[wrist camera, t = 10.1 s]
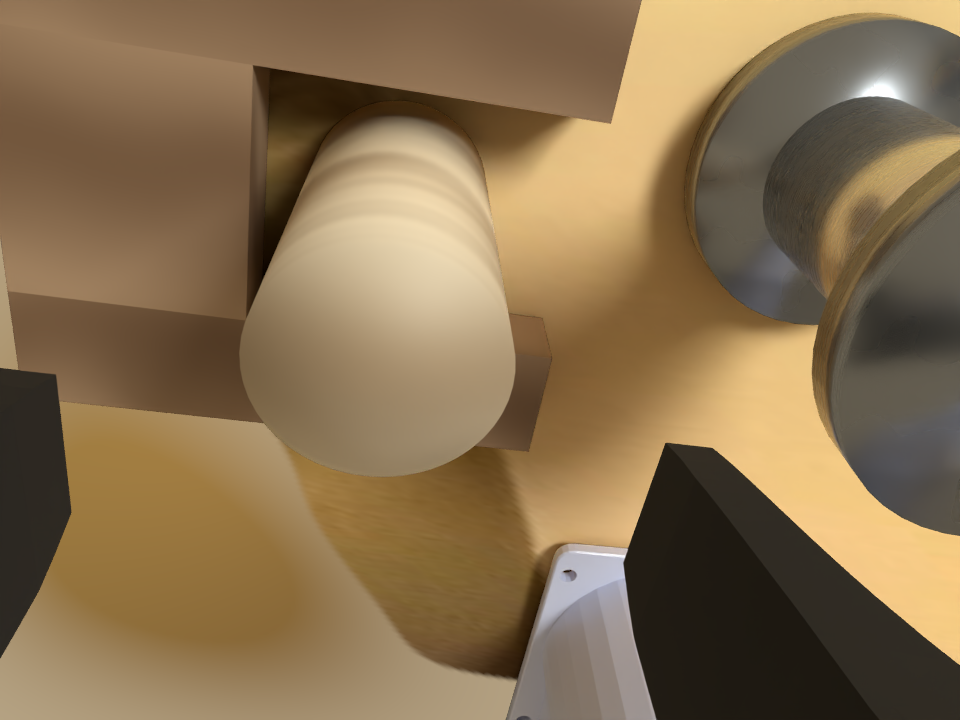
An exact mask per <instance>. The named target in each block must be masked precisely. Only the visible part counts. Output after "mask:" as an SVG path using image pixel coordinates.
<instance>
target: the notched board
mask: <svg viewBox="0 0 960 720" xmlns="http://www.w3.org/2000/svg"><path fill="white" fill-rule="evenodd" d="M641 1H642V0H0V239H1V245H2V253H3V260H4V268H5V275H6V282H7V289H8V296H9V304H10V311H11V318H12V325H13V333H14V339H15V346H16V354H17V361H18V369H19V370H21V371H30V372H39V373H48V374H56V378H57V387H58V396H59V401H63V402H73V403H82V404H91V405H101V406H110V407H119V408H129V409H137V410H147V411H156V412H165V413H174V414H185V415H193V416H202V417H212V418H222V419H231V420H239V421H249V422H258V423H264V422H263V421H262V419H261V418H260V417H259V415H258V414H257V412H256V411H255V409H254V407H253V405H252V403H251V402H250V400H249V398H248V395H247V392H246V390H245V387H244V384H243V380H242V375H241V370H240V356H239V351H240V342H241V335H242V331H243V328H244V324H245V321H246V318H247V316H248V314H249V311H250V309H251V307H252V304H253V302H254V300H255V297H256V295H257V293H258V290H259V288H260V286H261V283H262V277H263V251H264V224H265V197H266V171H267V144H268V117H269V91H270V68H274V69H280V70H286V71H292V72H298V73H304V74H310V75H317V76H323V77H329V78H335V79H341V80H347V81H353V82H359V83H365V84H372V85H378V86H384V87H390V88H396V89H402V90H408V91H414V92H421V93H427V94H433V95H439V96H445V97H451V98H457V99H463V100H469V101H476V102H482V103H488V104H494V105H500V106H506V107H512V108H518V109H524V110H531V111H537V112H543V113H549V114H555V115H561V116H567V117H573V118H580V119H586V120H592V121H598V122H604V123H610V124H611V121H612V117H613V113H614V109H615V105H616V101H617V97H618V93H619V89H620V85H621V81H622V77H623V73H624V69H625V65H626V61H627V57H628V53H629V49H630V45H631V41H632V37H633V33H634V29H635V25H636V21H637V17H638V13H639V9H640V5H641ZM509 320H510V326H511V331H512V337H513V343H514V350H515V377H514V383H513V388H512V391H511V394H510V398H509V401H508V403H507V405H506V407H505V409H504V411H503V413H502V415H501V416H500V418H499V419H498V421H497V422H496V424H495V425H494V427H493V428H492V429H491V430H490V431H489V432H488V433H487V435H486V436H485V437H484V438H483V439H482V440H481V441H479V442H478V443H477V444H476V445H475V446H481V447H490V448H499V449H508V450H518V451H527V452H529V448H530V444H531V440H532V436H533V432H534V428H535V424H536V420H537V416H538V412H539V408H540V404H541V400H542V396H543V392H544V388H545V384H546V381H547V377H548V373H549V369H550V365H551V361H552V356H551V352H550V348H549V344H548V340H547V336H546V332H545V328H544V324H543V320H542V318H537V317H529V316H521V315H513V314H509Z"/></svg>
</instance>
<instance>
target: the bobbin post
mask: <svg viewBox="0 0 960 720" xmlns="http://www.w3.org/2000/svg"><path fill="white" fill-rule="evenodd" d="M684 190H685V211H686V216H687V222H688V226H689V230H690V233H691V236H692V239H693V241H694V243H695V245H696V247H697V249H698V251H699V253H700V255H701V257H702V258H703V259H704V261H705V262H706V264H707V265H708V266H709V268H710V269H711V271H712V272H713V274H714V275H715V276H716V278H717V279H718V280H719V282H720V283H721V285H722V286H723V287H724V288H725V289H726V290H727V291H728V292H729V293H730V294H731V295H732V296H733V297H734V298H736V299H737V300H738V301H740V302H741V303H742V304H744V305H745V306H747V307H748V308H750V309H752V310H754V311H756V312H758V313H760V314H762V315H765V316H767V317H770V318H773V319H776V320H780V321H785V322H790V323H795V324H808V325H818V330H817V334H816V339H815V344H814V348H813V362H812V381H813V391H814V398H815V402H816V405H817V409H818V413H819V416H820V419H821V421H822V423H823V425H824V427H825V429H826V431H827V433H828V435H829V437H830V438H831V440H832V441H833V443H834V444H835V445H836V447H837V448H838V450H839V451H840V453H841V454H842V455H843V457H844V458H845V460H846V461H847V462H848V464H849V465H850V467H851V468H852V469H853V471H854V472H855V474H856V475H857V476H858V478H859V479H860V481H861V482H862V483H863V485H864V486H865V487H866V489H867V490H868V491H869V492H870V493H871V494H872V495H873V496H874V497H875V498H876V499H877V500H878V501H879V502H880V503H881V504H882V505H883V506H885V507H886V508H888V509H889V510H891V511H892V512H894V513H896V514H897V515H899V516H900V517H902V518H904V519H906V520H908V521H910V522H913V523H915V524H917V525H919V526H921V527H924V528H928V529H931V530H935V531H938V532H942V533H945V534H952V535H958V536H960V37H959V36H957V35H955V34H953V33H951V32H949V31H946V30H944V29H942V28H940V27H936V26H933V25H930V24H926V23H923V22H919V21H916V20H912V19H909V18H905V17H901V16H898V15H891V14H882V13H857V14H849V15H844V16H838V17H833V18H829V19H826V20H823V21H820V22H817V23H813V24H811V25H808V26H806V27H804V28H802V29H800V30H797V31H795V32H793V33H791V34H789V35H787V36H786V37H784V38H782V39H781V40H779V41H777V42H776V43H774V44H772V45H771V46H769V47H768V48H767V49H765V50H764V51H763V52H762V53H760V54H759V55H758V56H756V57H755V58H754V59H752V60H751V61H750V62H749V63H748V64H747V65H746V66H745V67H744V68H743V69H742V70H741V71H740V72H739V73H738V74H737V75H736V76H735V77H734V78H733V79H732V80H731V82H730V83H729V84H728V85H727V86H726V88H725V89H724V90H723V91H722V92H721V94H720V95H719V97H718V98H717V100H716V101H715V103H714V104H713V106H712V107H711V109H710V110H709V112H708V113H707V115H706V117H705V119H704V121H703V123H702V125H701V127H700V129H699V131H698V134H697V136H696V139H695V142H694V144H693V147H692V150H691V153H690V158H689V162H688V166H687V170H686V180H685V189H684Z"/></svg>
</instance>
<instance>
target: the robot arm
mask: <svg viewBox="0 0 960 720" xmlns="http://www.w3.org/2000/svg"><path fill="white" fill-rule="evenodd" d="M70 515H71V504H70V496H69V486H68V477H67V469H66V459H65V450H64V441H63V433H62V424H61V414H60V406H59V396H58V387H57V378H56V374H48V373H39V372H30V371H21V370H12V369H3V368H0V658H1V656H2V655H3V653H4V651H5V649H6V647H7V646H8V644H9V642H10V640H11V639H12V637H13V635H14V634H15V632H16V630H17V629H18V627H19V625H20V623H21V621H22V619H23V618H24V616H25V615H26V613H27V611H28V609H29V608H30V606H31V604H32V602H33V600H34V599H35V597H36V595H37V593H38V592H39V590H40V587H41V585H42V583H43V580H44V578H45V576H46V573H47V571H48V569H49V566H50V564H51V562H52V560H53V557H54V555H55V552H56V550H57V547H58V545H59V542H60V540H61V537H62V535H63V532H64V530H65V527H66V525H67V522H68V520H69V517H70ZM565 570H572V571H570V572H566V573H564V572H563V571H565ZM506 720H960V665H959V664H957V663H956V662H955V661H954V660H952V659H951V658H950V657H949V656H947V655H946V654H945V653H943V652H942V651H941V650H940V649H938V648H937V647H936V646H935V645H933V644H932V643H931V642H930V641H928V640H927V639H926V638H925V637H923V636H922V635H921V634H920V633H919V632H917V631H916V630H915V629H914V628H913V627H911V626H910V625H909V624H908V623H907V622H905V621H904V620H903V619H902V618H901V617H899V616H898V615H897V614H896V613H895V612H894V611H892V610H891V609H890V608H889V607H888V606H886V605H885V604H884V603H883V602H882V601H880V600H879V599H878V598H877V597H876V596H874V595H873V594H872V593H871V592H870V591H869V590H868V589H867V588H865V587H864V586H863V585H862V584H861V583H860V582H859V581H857V580H856V579H855V578H854V577H853V576H852V575H851V574H849V573H848V572H847V571H846V570H845V569H844V568H843V567H842V566H841V565H840V564H838V563H837V562H836V561H835V560H834V559H833V558H832V557H831V556H830V555H829V554H827V553H826V552H825V551H824V550H823V549H822V548H821V547H820V546H819V545H818V544H817V543H816V542H814V541H813V540H812V539H811V538H810V537H809V536H808V535H807V534H806V533H805V532H804V531H803V530H802V529H801V528H799V527H798V526H797V525H796V524H795V523H794V522H793V521H792V520H791V519H790V518H789V517H788V516H787V515H786V514H785V513H784V512H782V511H781V510H780V509H779V508H778V507H777V506H776V505H775V504H774V503H773V502H772V501H771V500H770V499H769V498H768V497H767V496H766V495H764V494H763V493H762V492H761V491H760V490H759V489H758V488H757V487H756V486H755V485H754V484H753V483H752V482H751V481H750V480H748V479H747V478H746V477H745V476H744V475H743V474H742V473H741V472H740V471H739V470H738V469H737V468H735V467H734V466H733V465H732V464H731V463H730V462H729V461H727V460H726V459H725V458H724V457H723V456H722V455H720V454H719V453H718V452H717V451H715V450H714V449H713V448H708V447H699V446H690V445H681V444H672V443H665V446H664V449H663V452H662V455H661V457H660V460H659V463H658V466H657V469H656V471H655V474H654V477H653V480H652V483H651V486H650V488H649V491H648V494H647V497H646V500H645V503H644V505H643V508H642V511H641V514H640V517H639V519H638V522H637V525H636V528H635V531H634V534H633V536H632V539H631V542H630V545H629V548H628V549H627V548H616V547H606V546H595V545H584V544H566V545H563V546H561V547H560V548H559V549H557V551H556V552H555V554H554V558H553V561H552V564H551V568H550V571H549V575H548V578H547V581H546V585H545V588H544V592H543V595H542V598H541V602H540V605H539V609H538V612H537V615H536V619H535V622H534V626H533V629H532V632H531V636H530V639H529V643H528V646H527V649H526V653H525V656H524V660H523V663H522V666H521V670H520V673H519V677H518V680H517V683H516V687H515V690H514V694H513V697H512V700H511V704H510V707H509V711H508V714H507V718H506Z"/></svg>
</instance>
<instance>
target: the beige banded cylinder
mask: <svg viewBox="0 0 960 720" xmlns="http://www.w3.org/2000/svg"><path fill="white" fill-rule="evenodd" d="M239 356H240V370H241V375H242V380H243V384H244V387H245V390H246V392H247V395H248V398H249V400H250V402H251V403H252V405H253V407H254V409H255V411H256V412H257V414H258V415H259V417H260V418H261V419H262V421H263V422H264V424H265V425H266V426H267V427H268V428H269V429H270V430H271V431H272V432H273V433H274V435H275V436H276V437H278V438H279V439H280V440H281V441H282V442H284V443H285V444H286V445H287V446H288V447H290V448H291V449H293V450H294V451H296V452H297V453H299V454H300V455H302V456H304V457H306V458H308V459H310V460H312V461H314V462H315V463H318V464H320V465H323V466H325V467H328V468H331V469H334V470H337V471H341V472H345V473H349V474H355V475H361V476H373V477H392V476H403V475H410V474H415V473H419V472H423V471H427V470H430V469H433V468H436V467H438V466H441V465H444V464H446V463H448V462H450V461H452V460H454V459H456V458H458V457H459V456H461V455H462V454H464V453H465V452H467V451H468V450H470V449H471V448H473V447H474V446H475V445H476V444H477V443H478V442H479V441H481V440H482V439H483V438H484V437H485V436H486V435H487V433H488V432H489V431H490V430H491V429H492V428H493V427H494V425H495V424H496V422H497V421H498V419H499V418H500V416H501V415H502V413H503V411H504V409H505V407H506V405H507V403H508V401H509V398H510V394H511V391H512V388H513V383H514V377H515V350H514V343H513V337H512V331H511V326H510V320H509V314H508V308H507V302H506V296H505V290H504V284H503V279H502V273H501V267H500V261H499V255H498V249H497V243H496V237H495V232H494V226H493V220H492V214H491V208H490V202H489V196H488V190H487V185H486V179H485V173H484V168H483V165H482V161H481V158H480V156H479V154H478V151H477V149H476V147H475V146H474V144H473V142H472V141H471V139H470V138H469V137H468V135H467V134H466V133H465V132H464V130H463V129H462V128H461V127H459V126H458V125H457V124H456V123H455V122H454V121H453V120H451V119H450V118H449V117H447V116H446V115H444V114H443V113H441V112H439V111H437V110H435V109H433V108H430V107H428V106H425V105H423V104H418V103H414V102H408V101H384V102H378V103H373V104H370V105H367V106H364V107H362V108H360V109H358V110H355V111H353V112H352V113H350V114H349V115H347V116H346V117H344V118H343V119H342V120H341V121H339V122H338V123H337V124H336V125H335V126H334V127H333V128H332V130H331V131H330V132H329V133H328V134H327V136H326V137H325V139H324V141H323V142H322V144H321V146H320V148H319V150H318V153H317V155H316V157H315V159H314V162H313V164H312V166H311V169H310V171H309V173H308V176H307V178H306V181H305V183H304V185H303V188H302V190H301V192H300V195H299V197H298V199H297V202H296V204H295V206H294V209H293V211H292V213H291V216H290V218H289V220H288V223H287V225H286V227H285V230H284V232H283V234H282V237H281V239H280V241H279V244H278V246H277V248H276V251H275V253H274V255H273V258H272V260H271V262H270V265H269V267H268V269H267V272H266V274H265V276H264V279H263V281H262V283H261V286H260V288H259V290H258V293H257V295H256V297H255V300H254V302H253V304H252V307H251V309H250V311H249V314H248V316H247V318H246V321H245V324H244V328H243V331H242V335H241V342H240V351H239Z"/></svg>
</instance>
